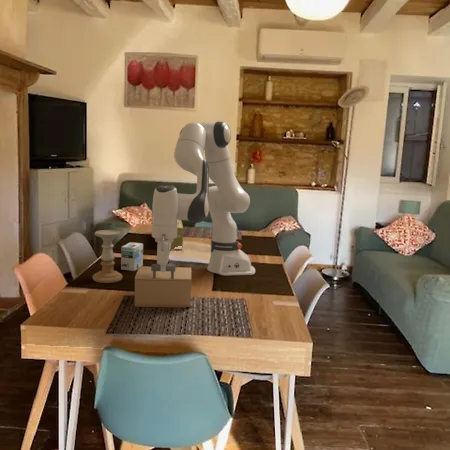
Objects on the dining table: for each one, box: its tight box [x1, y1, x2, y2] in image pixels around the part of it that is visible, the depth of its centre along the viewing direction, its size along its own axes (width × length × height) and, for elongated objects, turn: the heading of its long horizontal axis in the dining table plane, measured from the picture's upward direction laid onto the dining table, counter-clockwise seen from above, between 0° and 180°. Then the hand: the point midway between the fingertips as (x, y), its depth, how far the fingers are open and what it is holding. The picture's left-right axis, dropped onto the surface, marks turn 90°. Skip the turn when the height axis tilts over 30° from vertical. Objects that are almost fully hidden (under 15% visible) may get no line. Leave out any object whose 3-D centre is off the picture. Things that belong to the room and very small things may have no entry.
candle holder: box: [92, 229, 123, 284], centre depth 194 cm, size 12×12×20 cm
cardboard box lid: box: [134, 263, 192, 282], centre depth 172 cm, size 20×16×6 cm
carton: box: [134, 278, 192, 308], centre depth 174 cm, size 20×15×10 cm
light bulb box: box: [120, 241, 144, 272], centre depth 213 cm, size 11×7×11 cm, turn 168°
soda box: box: [170, 220, 184, 251], centre depth 268 cm, size 40×14×13 cm, turn 8°
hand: (163, 270), depth 165 cm, fingers open, 2 cm apart
